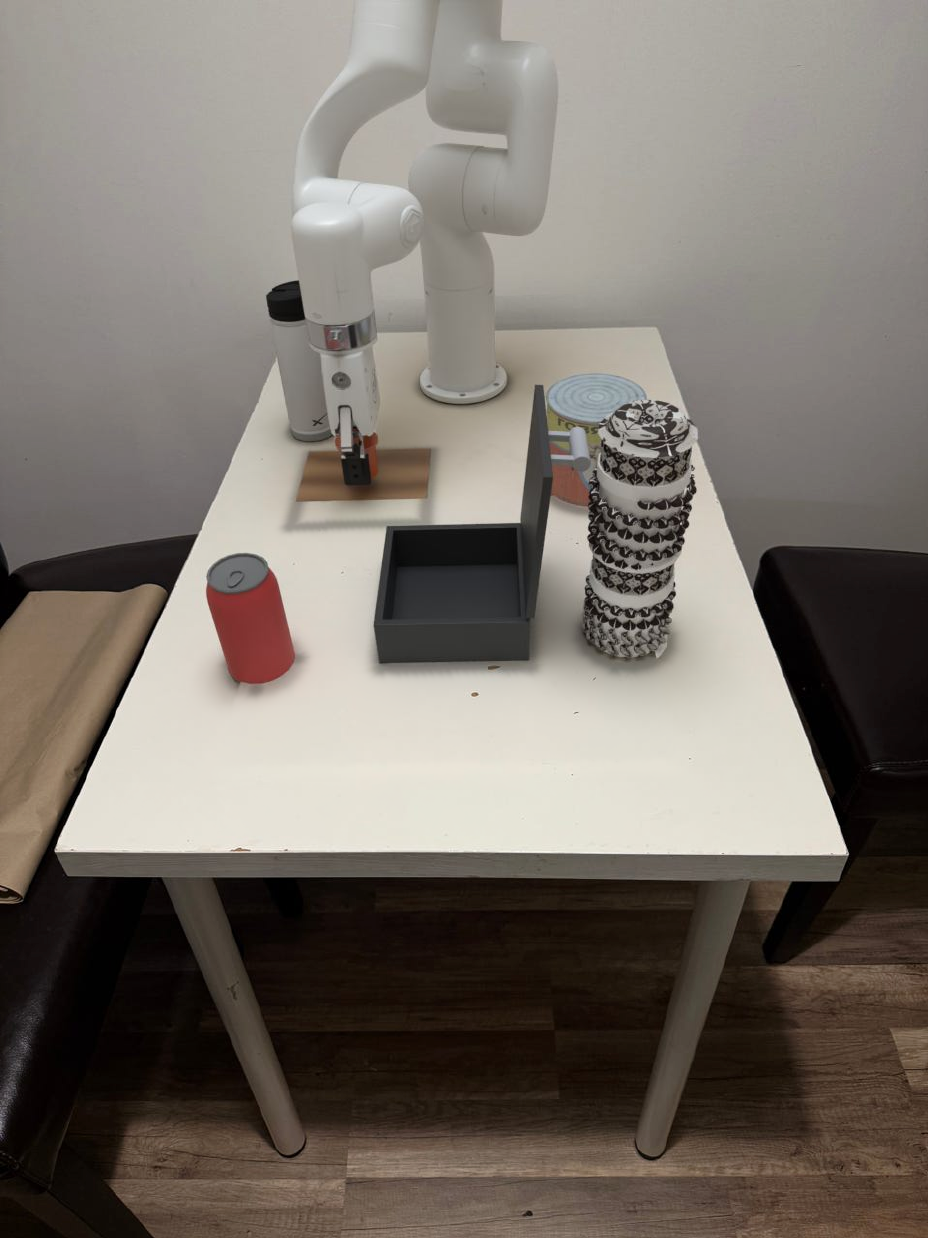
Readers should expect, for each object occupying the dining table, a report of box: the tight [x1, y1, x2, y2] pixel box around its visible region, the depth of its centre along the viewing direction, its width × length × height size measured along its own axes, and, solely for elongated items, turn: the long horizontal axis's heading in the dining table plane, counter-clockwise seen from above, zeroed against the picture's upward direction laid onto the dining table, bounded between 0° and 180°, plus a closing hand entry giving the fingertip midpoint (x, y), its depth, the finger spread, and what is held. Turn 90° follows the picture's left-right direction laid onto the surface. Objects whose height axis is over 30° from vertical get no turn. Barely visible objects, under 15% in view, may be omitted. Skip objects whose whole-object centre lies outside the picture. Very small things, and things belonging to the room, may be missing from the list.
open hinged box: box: [373, 522, 531, 664], centre depth 91 cm, size 15×16×6 cm
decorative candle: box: [581, 398, 699, 660], centre depth 81 cm, size 9×9×25 cm
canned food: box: [545, 372, 648, 508], centre depth 105 cm, size 11×11×12 cm
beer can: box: [205, 552, 296, 685], centre depth 84 cm, size 7×7×12 cm
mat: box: [295, 447, 432, 503], centre depth 111 cm, size 16×16×1 cm
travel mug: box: [265, 279, 333, 442], centre depth 115 cm, size 6×7×20 cm
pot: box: [334, 428, 379, 479], centre depth 108 cm, size 5×5×5 cm
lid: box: [519, 384, 591, 619], centre depth 83 cm, size 16×16×5 cm
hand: (360, 469), depth 109 cm, fingers closed on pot, 5 cm apart
